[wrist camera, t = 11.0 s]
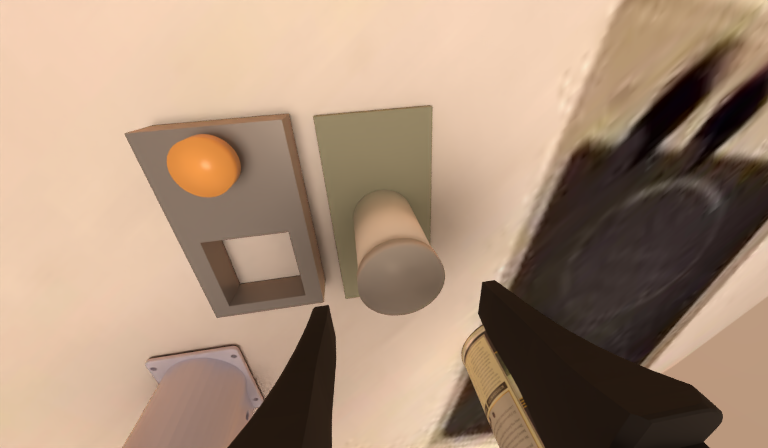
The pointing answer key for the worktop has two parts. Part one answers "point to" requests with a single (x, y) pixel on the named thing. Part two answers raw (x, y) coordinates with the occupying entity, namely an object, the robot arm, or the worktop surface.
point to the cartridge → (394, 256)
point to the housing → (238, 210)
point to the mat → (373, 169)
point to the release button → (203, 165)
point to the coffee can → (499, 394)
